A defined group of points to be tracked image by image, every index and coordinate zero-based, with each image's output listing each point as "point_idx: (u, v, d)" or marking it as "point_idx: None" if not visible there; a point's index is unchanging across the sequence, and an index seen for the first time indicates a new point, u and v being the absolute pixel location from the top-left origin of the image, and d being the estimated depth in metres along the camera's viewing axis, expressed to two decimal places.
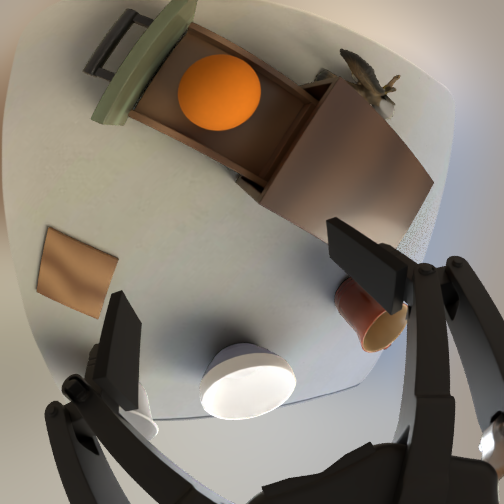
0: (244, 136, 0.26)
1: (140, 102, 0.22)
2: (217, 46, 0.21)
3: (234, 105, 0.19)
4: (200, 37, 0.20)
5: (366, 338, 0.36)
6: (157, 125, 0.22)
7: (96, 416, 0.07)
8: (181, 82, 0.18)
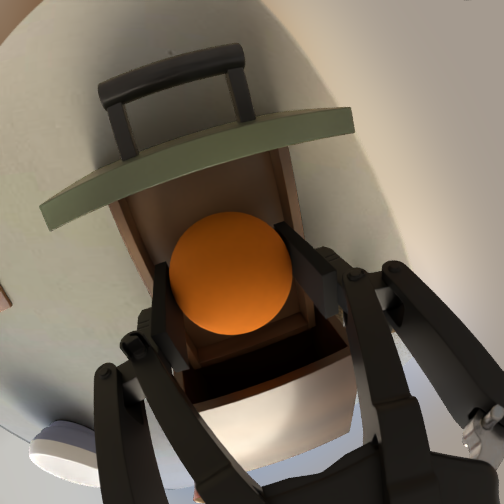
0: None
1: None
2: (279, 192, 0.18)
3: (232, 330, 0.14)
4: (274, 163, 0.17)
5: None
6: (130, 242, 0.15)
7: (149, 375, 0.09)
8: (198, 237, 0.13)
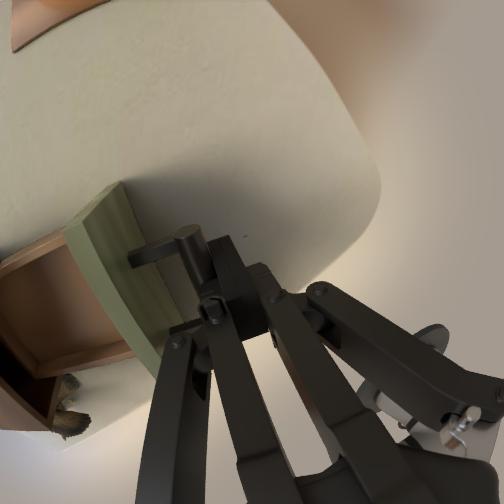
0: (19, 299, 0.16)
1: None
2: (123, 342, 0.20)
3: None
4: None
5: None
6: (59, 242, 0.14)
7: (221, 342, 0.10)
8: None
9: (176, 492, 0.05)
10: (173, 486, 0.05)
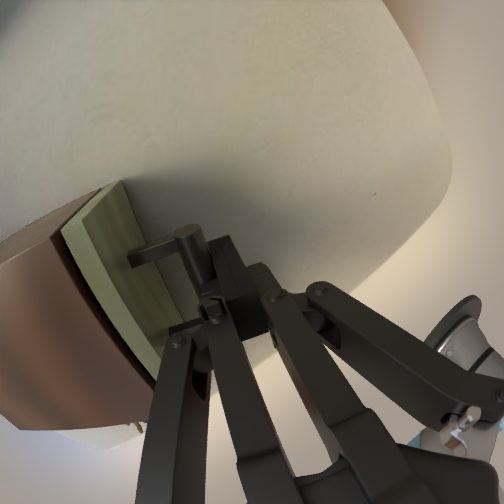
0: None
1: None
2: (123, 341, 0.20)
3: None
4: None
5: None
6: None
7: (221, 342, 0.10)
8: None
9: (176, 492, 0.05)
10: (173, 486, 0.05)
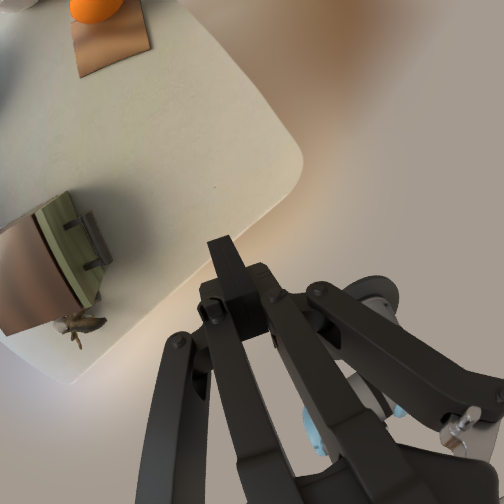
0: None
1: None
2: None
3: None
4: None
5: None
6: (37, 220, 0.27)
7: (221, 342, 0.10)
8: None
9: (176, 492, 0.05)
10: (173, 486, 0.05)
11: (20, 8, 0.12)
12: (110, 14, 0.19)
